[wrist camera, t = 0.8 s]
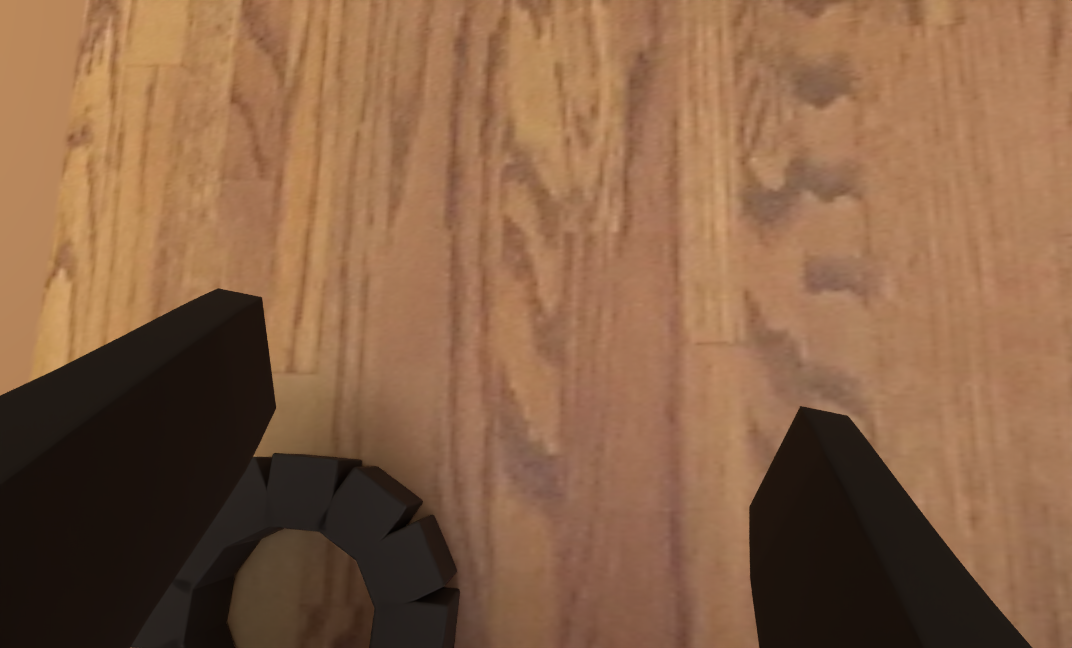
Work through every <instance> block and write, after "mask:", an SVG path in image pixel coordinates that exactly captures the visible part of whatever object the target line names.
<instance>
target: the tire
mask: <svg viewBox="0 0 1072 648" xmlns="http://www.w3.org/2000/svg"><path fill="white" fill-rule="evenodd" d="M361 466H362V460H358V459H348V458H337V457H327V456H317V455H306V454H284V453H274V454H273V455H272V457H252V459H251V461H250V463H249V465H248V467H247V469H246V471H245V473H244V474H243V476H242V477H241V479H240V480H239V482H238V484H237V485H236V487H235V488H234V490H233V491H232V493H231V494H230V496H229V497H228V499H227V500H226V502H225V503H224V505H223V507H222V508H221V510H220V511H219V513H218V514H217V516H216V517H215V519H214V520H213V522H212V523H211V525H210V526H209V528H208V529H207V531H206V532H205V534H204V535H203V537H202V538H201V540H200V541H199V543H198V544H197V546H196V547H195V549H194V550H193V552H192V553H191V555H190V556H189V558H188V559H187V561H186V562H185V564H184V565H183V567H182V568H181V570H180V571H179V573H178V574H177V576H176V577H175V579H174V580H173V582H172V583H171V585H170V586H169V588H168V589H167V591H166V592H165V594H164V595H163V597H162V598H161V600H160V601H159V603H158V604H157V606H156V607H155V609H154V610H153V611H152V613H151V614H150V616H149V618H148V619H147V621H146V622H145V624H144V626H143V627H142V629H141V631H140V632H139V634H138V635H137V637H136V639H135V640H134V642H133V644H132V645H131V648H235V646H234V643H233V640H232V637H231V634H230V631H229V628H228V625H227V616H228V610H229V604H230V598H231V592H232V587H233V581H234V575H235V573H236V572H237V571H238V569H239V568H240V567H241V565H242V564H243V563H244V561H245V560H246V559H247V557H248V556H249V555H250V553H251V552H252V551H253V549H254V548H255V547H256V545H257V544H258V543H259V542H260V540H261V539H262V538H264V537H266V536H268V535H271V534H273V533H275V532H277V531H279V530H281V529H284V528H287V529H297V530H307V531H317V532H320V533H321V534H323V535H324V536H325V537H326V538H328V539H329V540H330V541H332V542H333V543H334V544H335V545H337V546H338V547H339V548H341V549H342V550H343V551H344V552H346V553H347V554H348V555H350V556H351V557H352V558H353V559H355V560H356V561H357V564H358V567H359V569H360V572H361V574H362V577H363V580H364V582H365V585H366V587H367V590H368V592H369V595H370V598H371V600H372V603H373V605H374V616H373V623H372V631H371V639H370V646H369V648H454V641H455V632H456V623H457V614H458V605H459V595H460V590H459V589H457V588H447V587H444V586H445V585H446V583H447V582H448V581H449V580H450V579H451V578H452V577H453V575H454V574H455V573H456V572H457V569H456V566H455V564H454V562H453V559H452V557H451V554H450V552H449V549H448V547H447V545H446V542H445V540H444V537H443V535H442V533H441V530H440V528H439V525H438V523H437V520H436V518H435V516H434V515H430V516H428V517H425V518H423V519H420V520H418V521H416V522H414V523H412V524H409V525H407V524H408V523H409V521H410V520H411V519H412V517H413V516H414V514H415V513H416V512H417V510H418V509H419V507H420V506H421V505H422V502H423V501H422V499H420V498H419V497H418V496H416V495H415V494H414V493H412V492H411V491H410V490H408V489H407V488H406V487H404V486H403V485H402V484H400V483H399V482H398V481H396V480H395V479H394V478H392V477H391V476H390V475H388V474H387V473H386V472H384V471H383V470H382V469H380V468H379V467H361Z"/></svg>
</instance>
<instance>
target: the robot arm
mask: <svg viewBox="0 0 1072 648" xmlns="http://www.w3.org/2000/svg"><path fill="white" fill-rule="evenodd" d="M275 409H276V403H275V395H274V387H273V380H272V372H271V364H270V356H269V349H268V341H267V333H266V325H265V318H264V310H263V302H262V297H258V296H253V295H248V294H243V293H238V292H233V291H228V290H223V289H216V290H214V291H211V292H209V293H207V294H205V295H202V296H200V297H198V298H196V299H194V300H192V301H190V302H188V303H186V304H184V305H182V306H180V307H178V308H176V309H174V310H172V311H170V312H168V313H166V314H164V315H162V316H160V317H158V318H156V319H155V320H153V321H151V322H149V323H147V324H145V325H143V326H141V327H139V328H137V329H135V330H133V331H131V332H129V333H127V334H126V335H124V336H122V337H120V338H118V339H116V340H114V341H112V342H110V343H108V344H106V345H104V346H102V347H100V348H98V349H96V350H94V351H92V352H90V353H88V354H86V355H84V356H82V357H80V358H78V359H76V360H74V361H72V362H70V363H68V364H66V365H64V366H62V367H60V368H58V369H56V370H54V371H52V372H50V373H48V374H46V375H44V376H42V377H39V378H37V379H35V380H33V381H31V382H29V383H26V384H24V385H22V386H20V387H18V388H16V389H14V390H11V391H9V392H7V393H5V394H3V395H1V396H0V648H130V647H131V645H132V644H133V642H134V640H135V639H136V637H137V635H138V634H139V632H140V631H141V629H142V627H143V626H144V624H145V622H146V621H147V619H148V618H149V616H150V614H151V613H152V611H153V610H154V609H155V607H156V606H157V604H158V603H159V601H160V600H161V598H162V597H163V595H164V594H165V592H166V591H167V589H168V588H169V586H170V585H171V583H172V582H173V580H174V579H175V577H176V576H177V574H178V573H179V571H180V570H181V568H182V567H183V565H184V564H185V562H186V561H187V559H188V558H189V556H190V555H191V553H192V552H193V550H194V549H195V547H196V546H197V544H198V543H199V541H200V540H201V538H202V537H203V535H204V534H205V532H206V531H207V529H208V528H209V526H210V525H211V523H212V522H213V520H214V519H215V517H216V516H217V514H218V513H219V511H220V510H221V508H222V507H223V505H224V503H225V502H226V500H227V499H228V497H229V496H230V494H231V493H232V491H233V490H234V488H235V487H236V485H237V484H238V482H239V480H240V479H241V477H242V476H243V474H244V473H245V471H246V469H247V467H248V465H249V463H250V461H251V459H252V457H253V455H254V453H255V451H256V449H257V447H258V445H259V443H260V441H261V439H262V437H263V435H264V433H265V431H266V429H267V426H268V424H269V422H270V420H271V418H272V416H273V414H274V412H275ZM749 547H750V581H751V589H752V596H753V604H754V611H755V619H756V626H757V633H758V641H759V648H1032V647H1031V646H1030V644H1029V643H1028V642H1027V641H1026V640H1025V639H1024V637H1023V636H1022V635H1021V634H1020V633H1019V632H1018V630H1017V629H1016V628H1015V627H1014V626H1013V625H1012V624H1011V622H1010V621H1009V620H1008V619H1007V618H1006V617H1005V615H1004V614H1003V613H1002V612H1001V611H1000V610H999V608H998V607H997V606H996V605H995V604H994V603H993V601H992V600H991V599H990V598H989V597H988V595H987V594H986V593H985V592H984V590H983V589H982V588H981V587H980V586H979V584H978V583H977V582H976V581H975V580H974V578H973V577H972V576H971V575H970V573H969V572H968V571H967V570H966V568H965V567H964V566H963V565H962V563H961V562H960V561H959V560H958V558H957V557H956V556H955V555H954V553H953V552H952V551H951V550H950V548H949V547H948V546H947V544H946V543H945V542H944V541H943V539H942V538H941V537H940V536H939V534H938V533H937V532H936V530H935V529H934V528H933V527H932V525H931V524H930V523H929V521H928V520H927V519H926V517H925V516H924V515H923V514H922V512H921V511H920V510H919V508H918V507H917V506H916V504H915V503H914V502H913V500H912V499H911V498H910V496H909V495H908V494H907V492H906V491H905V490H904V488H903V487H902V486H901V484H900V483H899V482H898V481H897V479H896V478H895V477H894V475H893V474H892V473H891V471H890V470H889V469H888V467H887V466H886V465H885V463H884V462H883V461H882V459H881V458H880V457H879V455H878V454H877V453H876V451H875V450H874V449H873V447H872V446H871V445H870V443H869V442H868V441H867V439H866V438H865V437H864V435H863V434H862V433H861V432H860V430H859V429H858V428H857V427H856V425H855V424H854V423H853V422H852V420H851V419H850V418H849V417H848V416H846V415H841V414H836V413H832V412H827V411H822V410H817V409H812V408H807V407H802V406H800V408H799V410H798V412H797V414H796V416H795V418H794V420H793V422H792V424H791V426H790V428H789V430H788V432H787V434H786V436H785V438H784V440H783V442H782V444H781V446H780V448H779V450H778V451H777V453H776V455H775V457H774V459H773V461H772V463H771V465H770V467H769V469H768V471H767V473H766V475H765V477H764V479H763V481H762V483H761V485H760V487H759V489H758V491H757V493H756V495H755V497H754V499H753V501H752V503H751V505H750V507H749Z"/></svg>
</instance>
